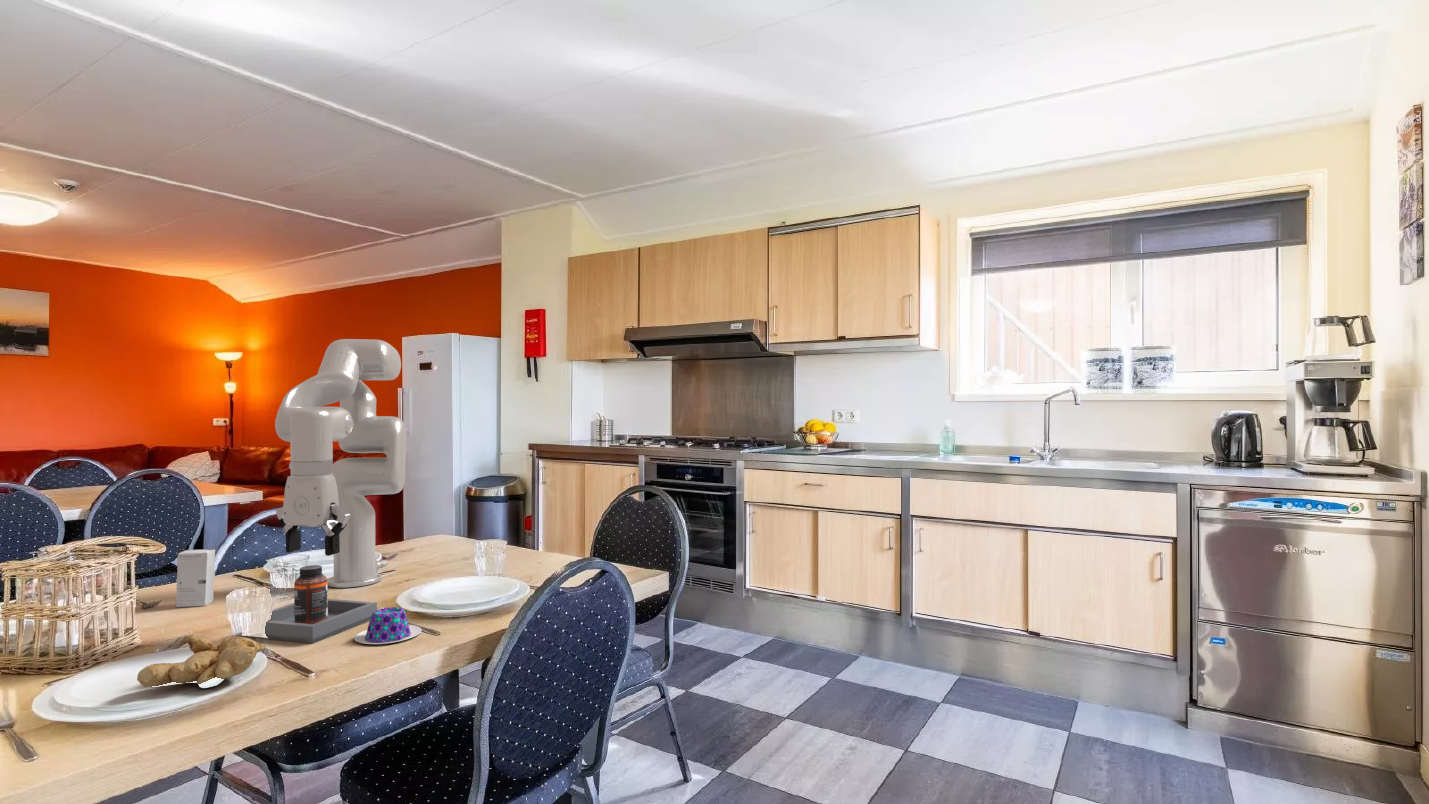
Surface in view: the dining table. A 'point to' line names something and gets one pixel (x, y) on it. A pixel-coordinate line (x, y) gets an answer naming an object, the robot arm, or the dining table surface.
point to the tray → (338, 620)
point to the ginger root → (204, 662)
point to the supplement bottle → (310, 595)
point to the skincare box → (195, 578)
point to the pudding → (387, 627)
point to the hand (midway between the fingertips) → (312, 552)
